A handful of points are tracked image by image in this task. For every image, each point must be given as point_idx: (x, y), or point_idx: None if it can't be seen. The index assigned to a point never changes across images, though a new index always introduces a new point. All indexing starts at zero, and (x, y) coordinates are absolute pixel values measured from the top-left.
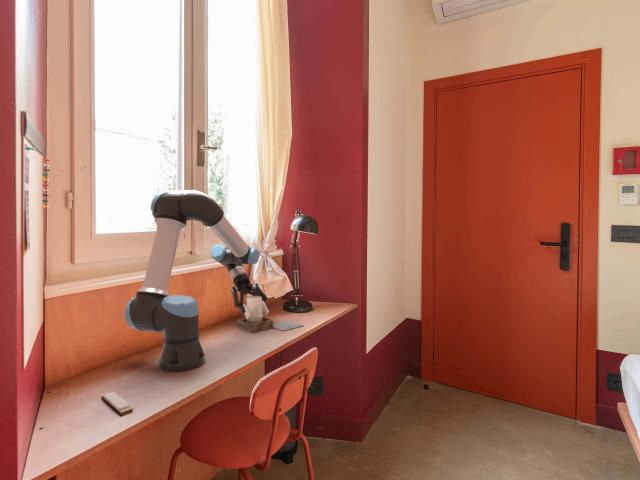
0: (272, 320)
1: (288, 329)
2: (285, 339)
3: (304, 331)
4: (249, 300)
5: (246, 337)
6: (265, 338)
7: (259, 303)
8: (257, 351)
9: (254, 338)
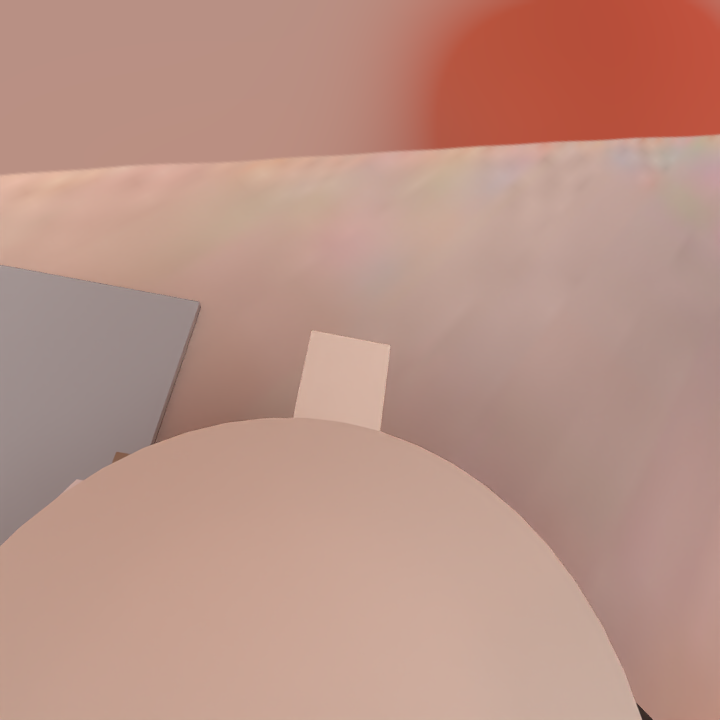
0: (123, 453)
1: (129, 291)
2: (362, 180)
3: (97, 171)
4: (591, 675)
5: (574, 453)
6: (457, 301)
7: (348, 402)
8: (642, 187)
9: (529, 373)
